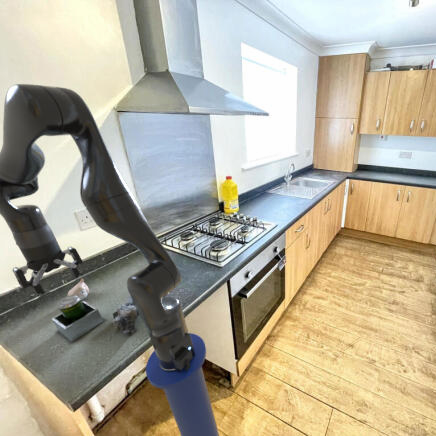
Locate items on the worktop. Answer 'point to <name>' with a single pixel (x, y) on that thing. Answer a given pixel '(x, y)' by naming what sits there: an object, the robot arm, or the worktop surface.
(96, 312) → the open square box
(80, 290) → the garlic bulb
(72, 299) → the beer can
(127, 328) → the foil
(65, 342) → the worktop surface
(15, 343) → the worktop surface
